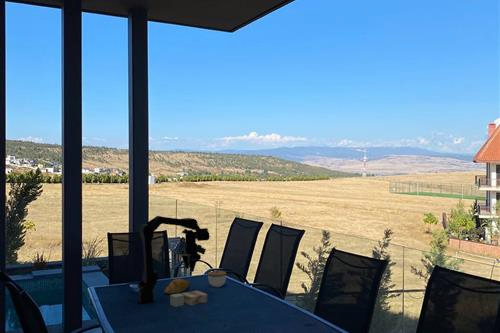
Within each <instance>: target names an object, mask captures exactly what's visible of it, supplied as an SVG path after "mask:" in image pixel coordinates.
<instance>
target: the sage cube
mask: <svg viewBox="0 0 500 333" xmlns="http://www.w3.org/2000/svg"><path fill="white" fill-rule="evenodd" d="M169 297H170V298H169V305H170V306H171V307H175V308H177V307H182V306H185V303H184V295H182V294H181V293H172V294H170V296H169Z"/></svg>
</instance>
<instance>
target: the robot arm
mask: <svg viewBox="0 0 500 333" xmlns="http://www.w3.org/2000/svg"><path fill="white" fill-rule="evenodd" d="M162 224H163V225H170V226H177V227H178V226H180V227H182V228H184V229H183V230H182V231H181V234H185V236H184V240H185V241H184V243H183V245H184V248H183V249H182V248H181V249H180V250H179V254H180V257H181V259H182V261H183V264H184V266H185V267H184V268H186V269H190V272H192V273H193V272H194V270H195V267H196V264H197V262H199V261H200V260H201V259H202V258H201V256H202V255H204V256H205V253H206V251H207V249H206V248H204V247H202V245H201V244H198V243H196V242H197V241H198V242H201V241H202V242H203V241H208V240H209V239H210V237H211V236H210V232H209V229H208V228H207V227H204V228H201V227H200V225H199V224H198V221H197V219H195V218H191V217H185V218H177V217H176V218H175V217H168V216H167V217H166V216H162V215H156V216H155V217H153V218H152V219H150V220H149V221H147V222H146V223H144V224H141V225H140V226H139V228H138V231H139V236H140V239H141V242H142V251H143V253H142V254H143V265H144V266H143V267H144V268H143V272H142V275H141V280H140V281H139V282H138V284H137V288H138V299H137V300H136V301H137V302H138V303H141V304H148V303H153V302H155V301H154V289H155V286H156V285H157V282H158V281H159V279H158V272H157V271H156V270H155V269H154V260H153V247H152V246H153V244H152V243H153V238H154V233H155V231H157V229H158V228H159V227H160V226H161V225H162ZM201 254H202V255H201Z"/></svg>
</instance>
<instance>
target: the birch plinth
mask: <svg viewBox="0 0 500 333" xmlns="http://www.w3.org/2000/svg"><path fill="white" fill-rule="evenodd" d="M180 294H182V295H184V304H186V305H189V306H195V305H200V304H205V303H208V293H206V292H203V291H200V290H191V291H187V292H186V291H184V292H180Z"/></svg>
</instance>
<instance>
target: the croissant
mask: <svg viewBox="0 0 500 333" xmlns="http://www.w3.org/2000/svg"><path fill="white" fill-rule="evenodd" d="M190 285H191V282H190V281H188V280H185V279H183V278H176V279H173V280H172V281H171V282H170V283H169V284H168V285H167V286H166V287H165V289H164V294H170V295H172V294H178V293H179V294H181V293H184V292H186V290H187V289H188V288H189V287H190Z"/></svg>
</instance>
